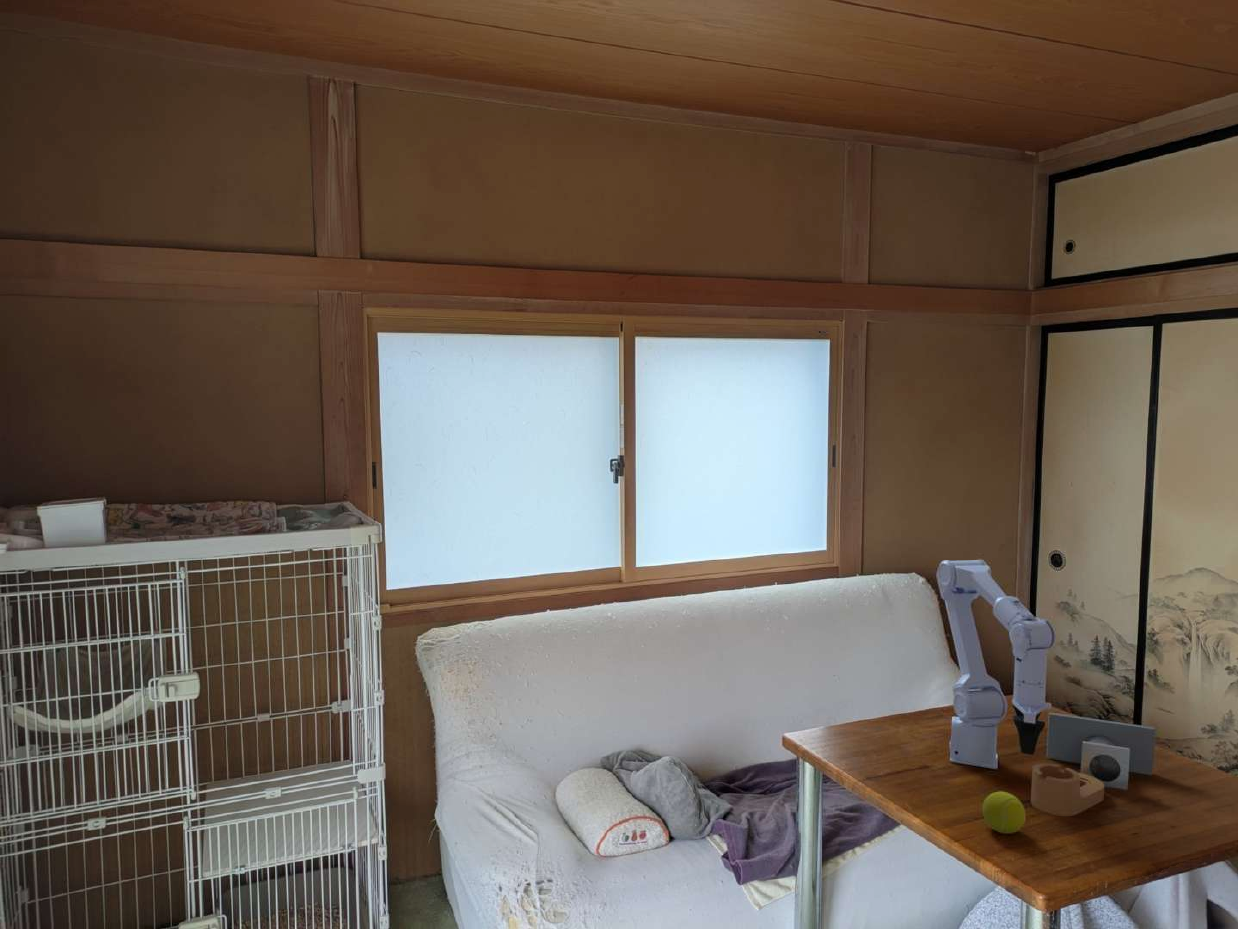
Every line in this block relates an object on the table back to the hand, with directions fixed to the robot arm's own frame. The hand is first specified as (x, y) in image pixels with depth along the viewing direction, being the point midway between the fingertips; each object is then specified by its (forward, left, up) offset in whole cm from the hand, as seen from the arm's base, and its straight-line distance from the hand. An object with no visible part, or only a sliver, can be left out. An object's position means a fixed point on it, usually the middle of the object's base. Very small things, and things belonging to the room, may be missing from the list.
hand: (1026, 746), depth 170 cm
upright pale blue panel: (+15, +16, -10) cm, 24 cm away
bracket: (+8, +1, -10) cm, 13 cm away
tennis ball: (-4, -19, -10) cm, 22 cm away
